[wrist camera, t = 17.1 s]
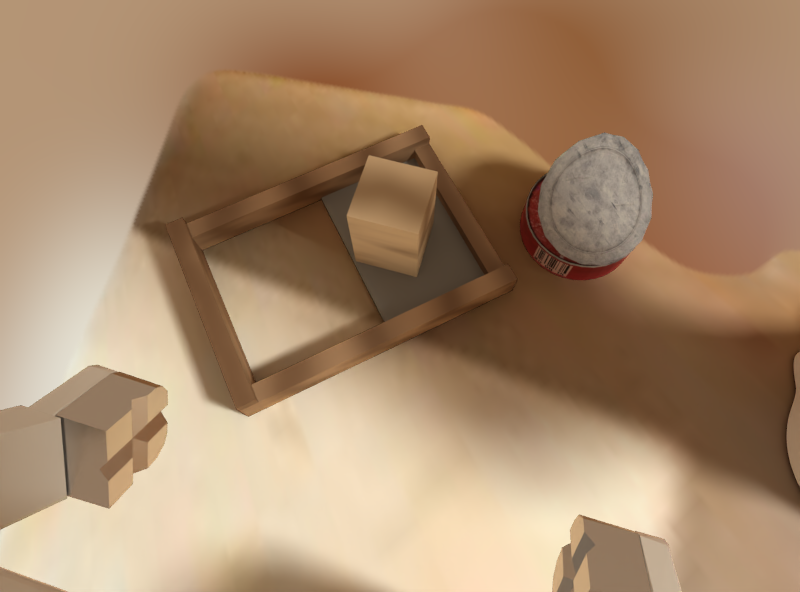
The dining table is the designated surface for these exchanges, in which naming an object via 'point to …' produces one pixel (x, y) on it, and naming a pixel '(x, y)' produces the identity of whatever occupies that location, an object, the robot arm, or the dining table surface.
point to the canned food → (588, 209)
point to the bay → (391, 291)
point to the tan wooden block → (392, 215)
